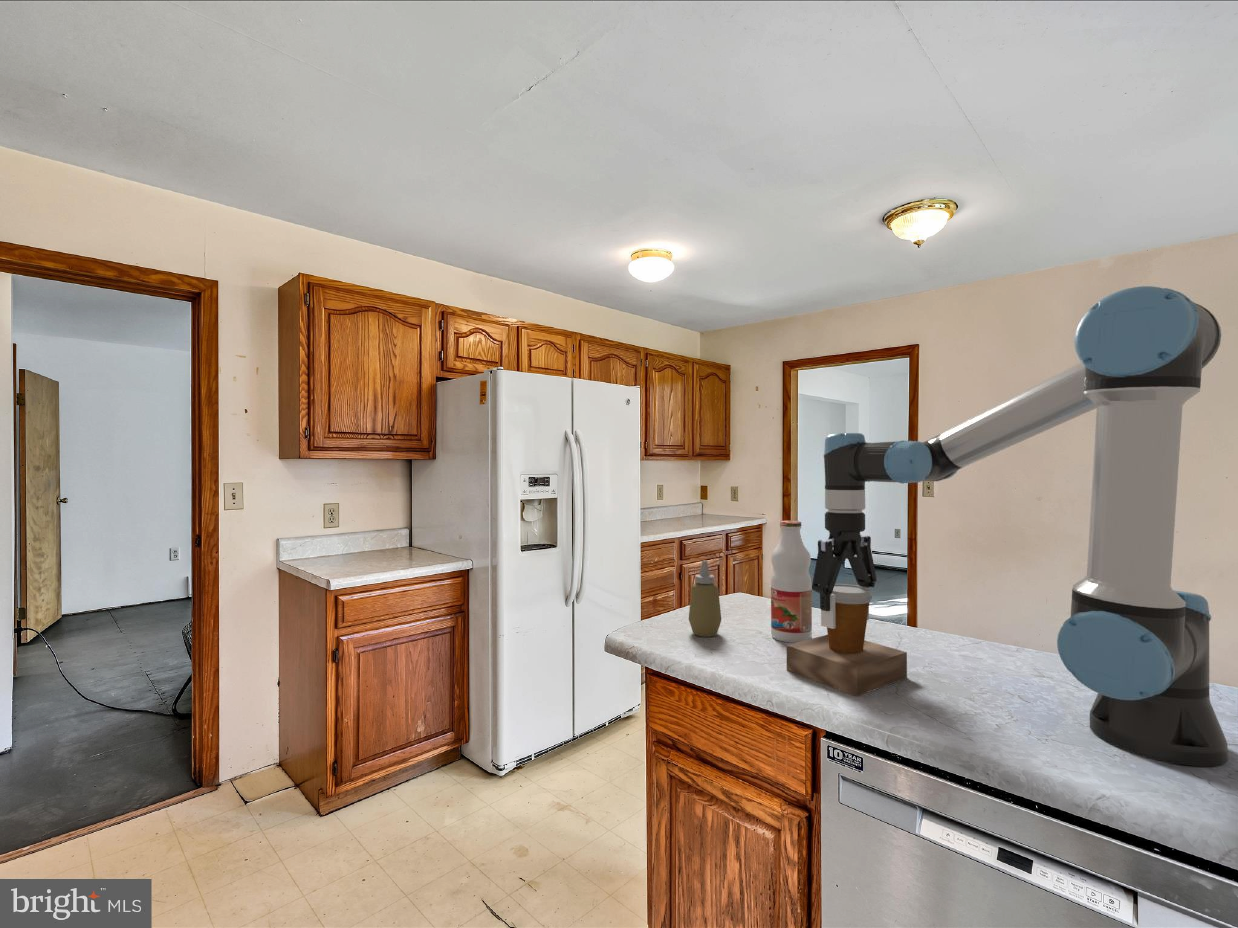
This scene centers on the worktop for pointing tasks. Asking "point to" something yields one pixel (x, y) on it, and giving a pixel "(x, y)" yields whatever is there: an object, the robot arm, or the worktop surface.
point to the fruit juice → (791, 587)
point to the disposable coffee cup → (849, 618)
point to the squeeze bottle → (704, 604)
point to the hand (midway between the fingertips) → (845, 622)
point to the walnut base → (847, 665)
